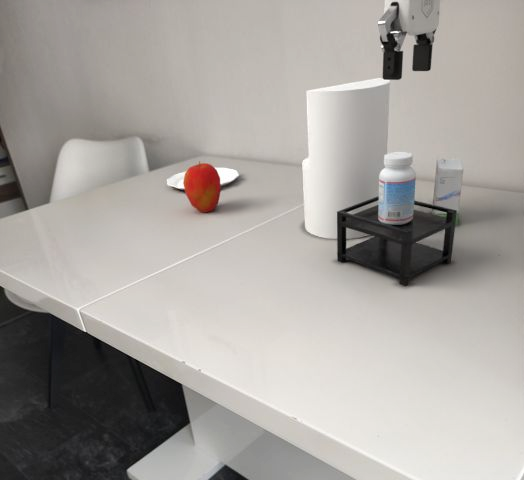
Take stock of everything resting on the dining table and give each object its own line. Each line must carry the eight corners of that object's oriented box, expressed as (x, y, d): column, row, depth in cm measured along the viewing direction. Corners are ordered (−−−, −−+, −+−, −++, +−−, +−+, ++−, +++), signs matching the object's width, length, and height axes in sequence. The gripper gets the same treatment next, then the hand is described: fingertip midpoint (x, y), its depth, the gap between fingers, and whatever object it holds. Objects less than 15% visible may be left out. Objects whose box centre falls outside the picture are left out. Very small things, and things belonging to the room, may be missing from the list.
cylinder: (401, 225, 115) (409, 80, 100) (335, 245, 109) (333, 94, 94) (351, 206, 128) (352, 75, 113) (290, 223, 122) (282, 87, 107)
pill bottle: (419, 218, 96) (424, 152, 89) (400, 228, 92) (403, 161, 86) (390, 212, 99) (393, 149, 93) (370, 222, 96) (372, 157, 90)
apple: (197, 203, 140) (189, 156, 133) (229, 204, 137) (223, 156, 131) (182, 216, 133) (173, 166, 126) (215, 217, 130) (209, 166, 123)
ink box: (457, 225, 112) (464, 168, 106) (433, 225, 113) (438, 169, 107) (454, 212, 119) (460, 157, 113) (431, 212, 120) (436, 158, 114)
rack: (451, 262, 98) (457, 210, 93) (404, 286, 91) (408, 231, 86) (383, 241, 109) (384, 193, 103) (337, 261, 102) (336, 211, 97)
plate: (155, 193, 151) (153, 187, 150) (186, 172, 168) (185, 167, 167) (223, 194, 145) (222, 188, 144) (249, 173, 161) (248, 167, 160)
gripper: (408, -56, 73) (401, 83, 82) (463, -56, 83) (451, 67, 93) (360, -49, 77) (359, 82, 87) (419, -50, 88) (412, 68, 97)
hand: (407, 75), depth 90 cm, fingers open, 9 cm apart
